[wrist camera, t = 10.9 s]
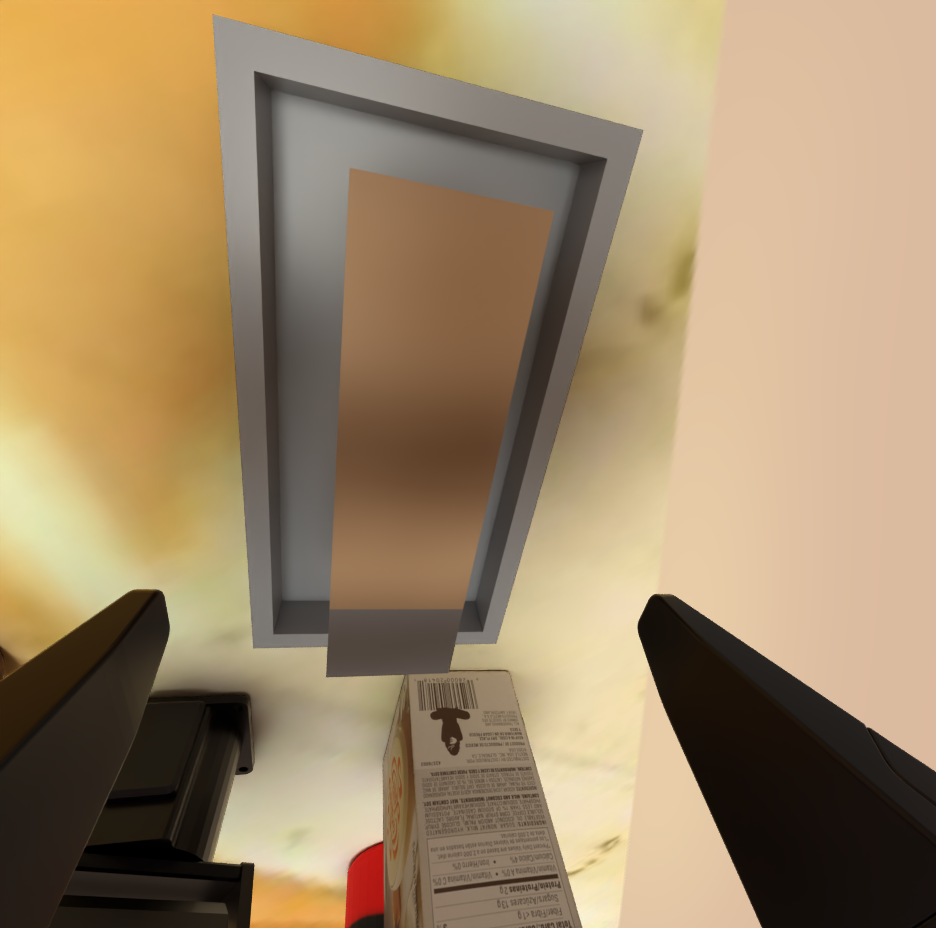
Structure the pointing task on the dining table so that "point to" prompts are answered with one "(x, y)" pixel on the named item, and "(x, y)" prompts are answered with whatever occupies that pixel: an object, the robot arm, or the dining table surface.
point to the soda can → (366, 890)
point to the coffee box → (467, 812)
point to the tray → (323, 272)
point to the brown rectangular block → (421, 410)
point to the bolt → (1, 666)
